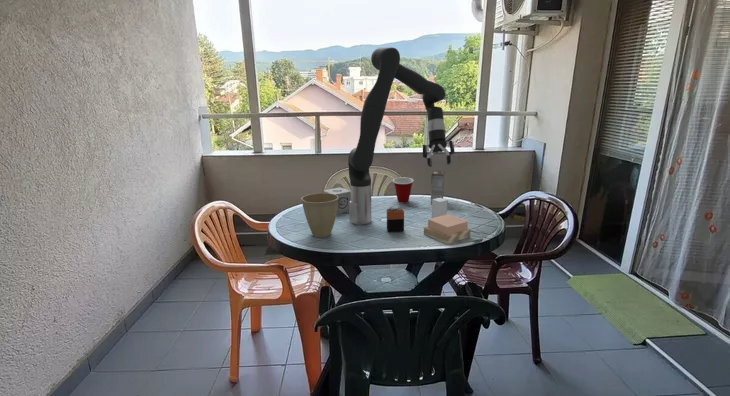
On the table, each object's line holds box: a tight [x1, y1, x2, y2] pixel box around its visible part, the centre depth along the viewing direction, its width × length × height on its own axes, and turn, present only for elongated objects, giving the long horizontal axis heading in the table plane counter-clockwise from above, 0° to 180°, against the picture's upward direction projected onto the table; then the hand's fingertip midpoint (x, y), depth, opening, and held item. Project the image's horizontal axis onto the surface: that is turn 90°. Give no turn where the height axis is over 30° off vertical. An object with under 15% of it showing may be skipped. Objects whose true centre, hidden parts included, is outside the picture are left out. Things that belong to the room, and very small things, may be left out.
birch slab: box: [423, 226, 471, 245], centre depth 152 cm, size 13×13×4 cm
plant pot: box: [301, 192, 338, 238], centre depth 153 cm, size 15×15×16 cm
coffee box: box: [430, 170, 445, 205], centre depth 194 cm, size 9×6×16 cm
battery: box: [386, 206, 405, 233], centre depth 157 cm, size 4×7×10 cm, turn 96°
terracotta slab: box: [427, 213, 469, 236], centre depth 151 cm, size 11×11×4 cm
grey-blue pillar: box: [430, 197, 449, 219], centre depth 167 cm, size 5×5×10 cm
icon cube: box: [322, 187, 351, 215], centre depth 185 cm, size 10×10×10 cm
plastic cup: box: [392, 176, 415, 204], centre depth 197 cm, size 11×11×12 cm
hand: (439, 165), depth 170 cm, fingers open, 8 cm apart
